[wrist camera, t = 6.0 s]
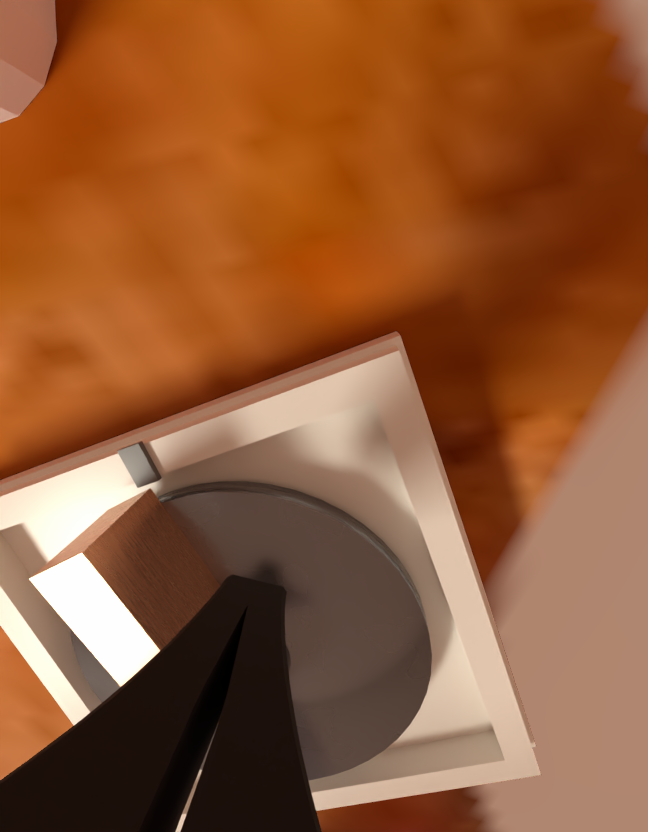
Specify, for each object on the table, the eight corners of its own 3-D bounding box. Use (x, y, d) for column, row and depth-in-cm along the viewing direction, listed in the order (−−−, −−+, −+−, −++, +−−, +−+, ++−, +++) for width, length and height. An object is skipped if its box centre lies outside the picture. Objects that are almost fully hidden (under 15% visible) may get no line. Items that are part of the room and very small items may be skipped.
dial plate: (523, 714, 16) (551, 785, 14) (176, 778, 19) (151, 846, 16) (396, 331, 12) (405, 340, 10) (-21, 487, 15) (-90, 524, 12)
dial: (484, 706, 14) (528, 850, 10) (205, 789, 17) (163, 928, 13) (310, 399, 11) (286, 452, 8) (6, 556, 14) (-119, 651, 10)
